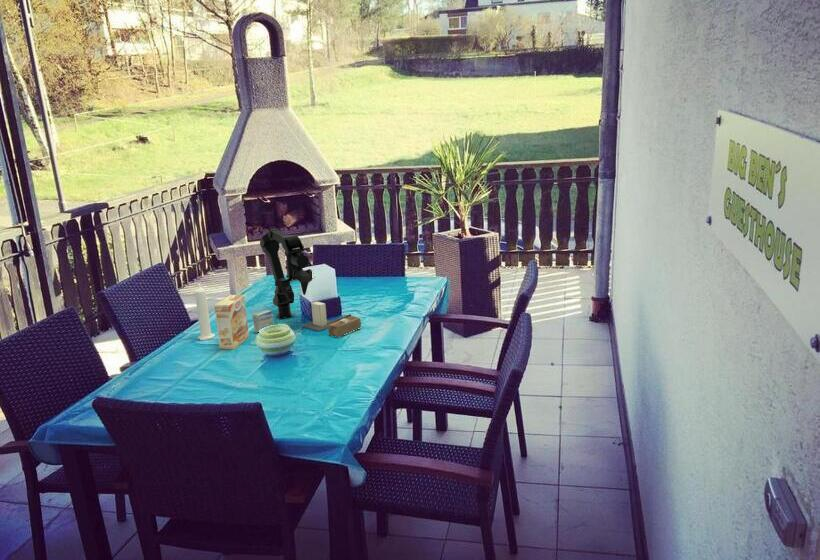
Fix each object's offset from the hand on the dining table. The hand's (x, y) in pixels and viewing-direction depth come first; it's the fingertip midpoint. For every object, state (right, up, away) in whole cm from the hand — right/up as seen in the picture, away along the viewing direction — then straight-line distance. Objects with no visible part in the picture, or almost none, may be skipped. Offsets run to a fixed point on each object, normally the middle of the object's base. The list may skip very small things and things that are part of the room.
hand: (296, 297), depth 304 cm
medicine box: (-14, -15, -2) cm, 21 cm away
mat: (+11, -13, +1) cm, 17 cm away
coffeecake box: (-24, -19, -16) cm, 35 cm away
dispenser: (+23, -15, -9) cm, 29 cm away
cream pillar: (+11, -12, 0) cm, 16 cm away
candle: (-39, -18, -8) cm, 43 cm away
